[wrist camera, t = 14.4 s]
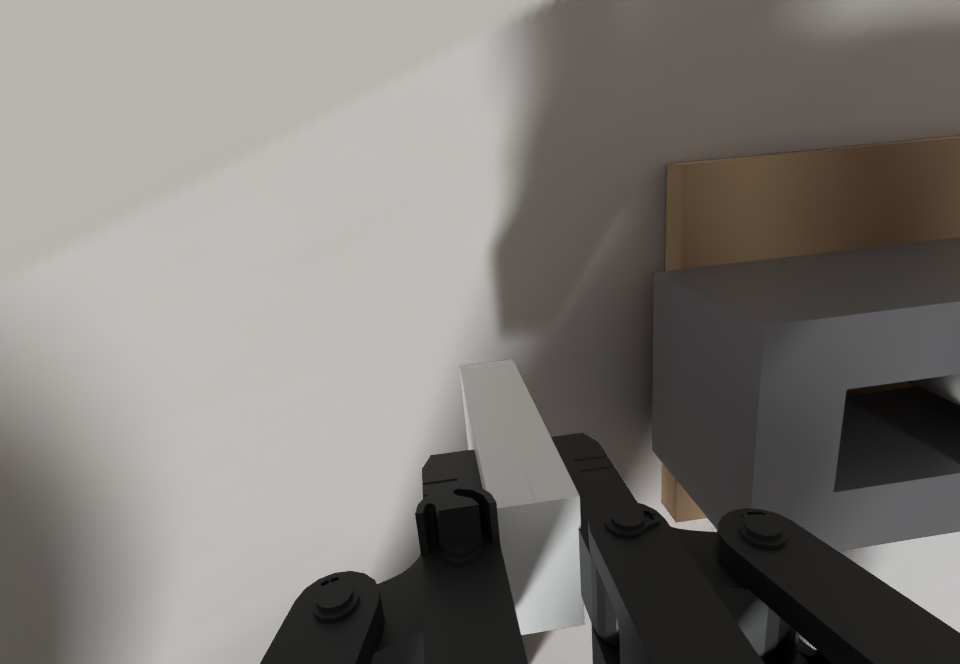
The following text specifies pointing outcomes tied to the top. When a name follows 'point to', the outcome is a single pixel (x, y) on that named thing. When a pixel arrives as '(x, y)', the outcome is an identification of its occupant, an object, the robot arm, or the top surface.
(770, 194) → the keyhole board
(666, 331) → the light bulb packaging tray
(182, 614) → the top surface
